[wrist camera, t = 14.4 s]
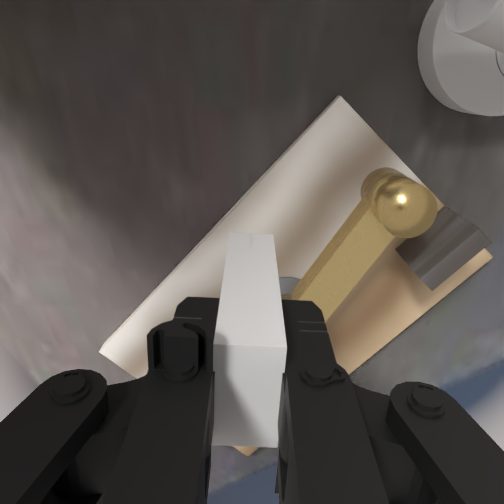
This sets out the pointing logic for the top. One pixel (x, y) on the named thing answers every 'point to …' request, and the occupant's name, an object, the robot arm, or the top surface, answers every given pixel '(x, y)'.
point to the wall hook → (464, 55)
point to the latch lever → (366, 236)
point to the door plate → (320, 246)
